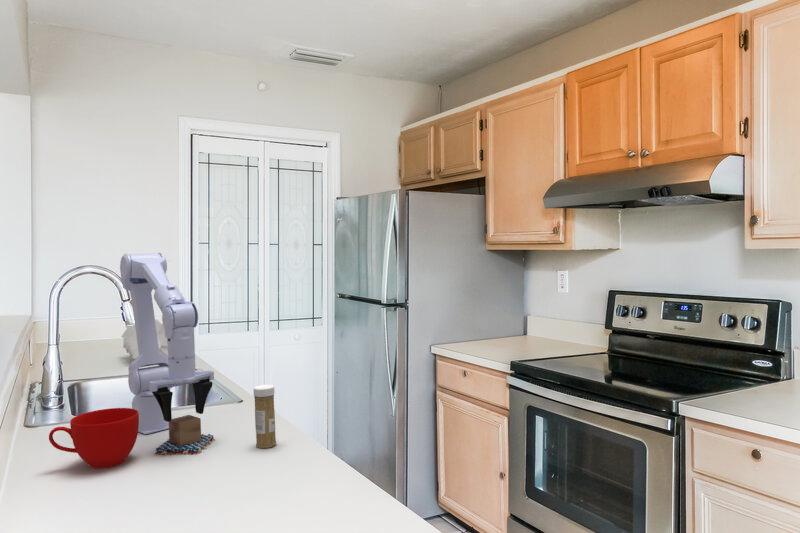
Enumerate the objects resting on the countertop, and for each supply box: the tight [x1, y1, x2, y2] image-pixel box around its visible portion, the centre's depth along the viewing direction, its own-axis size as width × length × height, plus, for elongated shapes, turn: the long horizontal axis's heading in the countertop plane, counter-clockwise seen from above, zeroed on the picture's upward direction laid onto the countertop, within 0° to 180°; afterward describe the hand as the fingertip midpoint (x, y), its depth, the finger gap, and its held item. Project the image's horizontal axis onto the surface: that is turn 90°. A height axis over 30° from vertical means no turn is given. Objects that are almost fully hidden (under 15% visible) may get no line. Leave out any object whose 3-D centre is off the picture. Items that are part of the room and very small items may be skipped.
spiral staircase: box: [121, 319, 168, 360], centre depth 245 cm, size 18×18×25 cm
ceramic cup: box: [48, 407, 139, 469], centre depth 126 cm, size 13×17×10 cm
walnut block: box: [168, 414, 202, 446], centre depth 135 cm, size 5×5×5 cm
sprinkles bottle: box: [253, 384, 277, 449], centre depth 134 cm, size 5×5×14 cm
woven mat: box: [154, 433, 216, 456], centre depth 135 cm, size 10×11×2 cm
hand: (183, 416), depth 135 cm, fingers open, 7 cm apart
